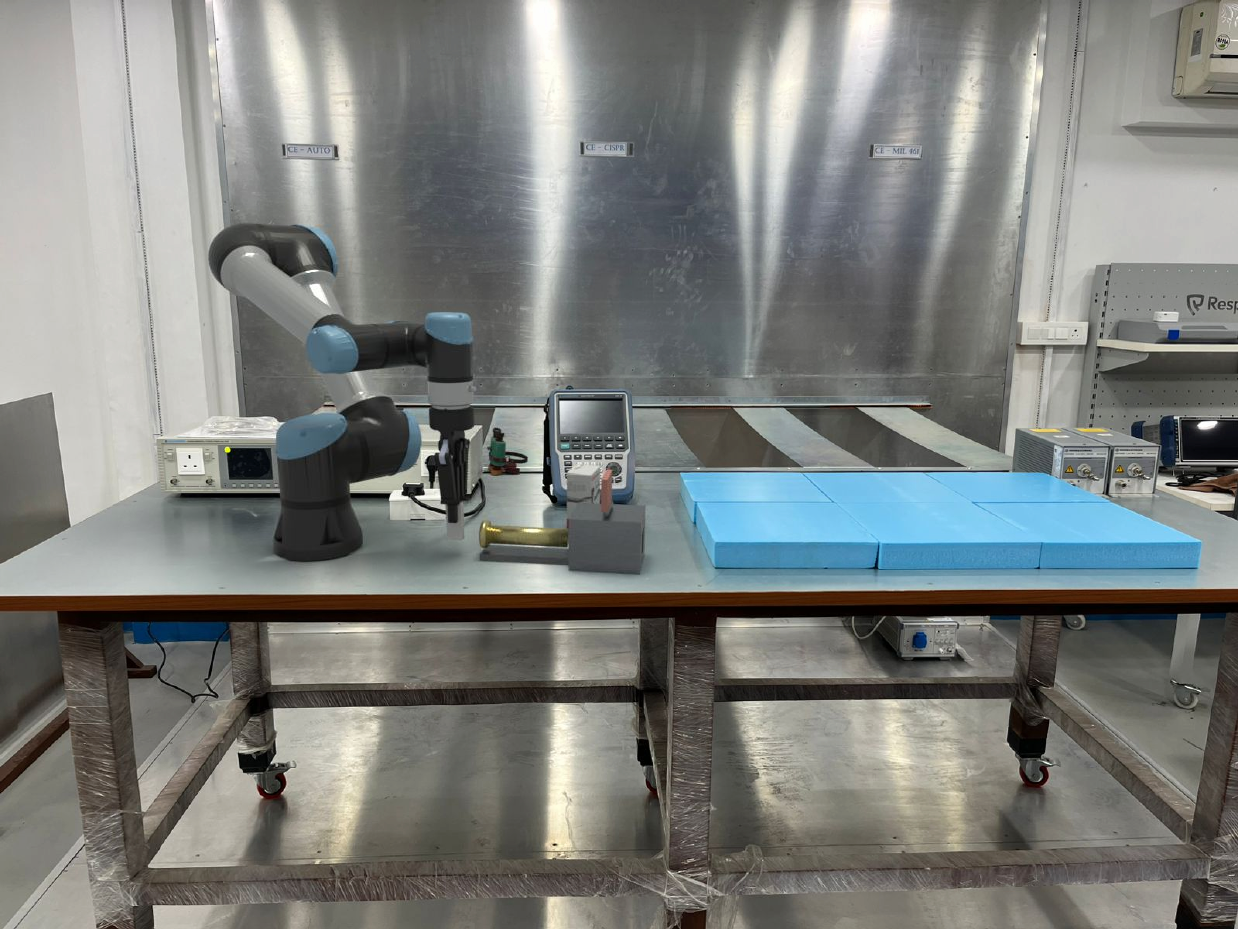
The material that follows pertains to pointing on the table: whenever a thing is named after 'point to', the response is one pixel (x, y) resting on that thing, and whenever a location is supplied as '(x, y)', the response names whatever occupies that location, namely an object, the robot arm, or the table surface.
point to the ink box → (582, 486)
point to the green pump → (502, 455)
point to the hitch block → (588, 542)
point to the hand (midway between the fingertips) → (455, 538)
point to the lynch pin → (522, 535)
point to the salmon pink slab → (606, 493)
